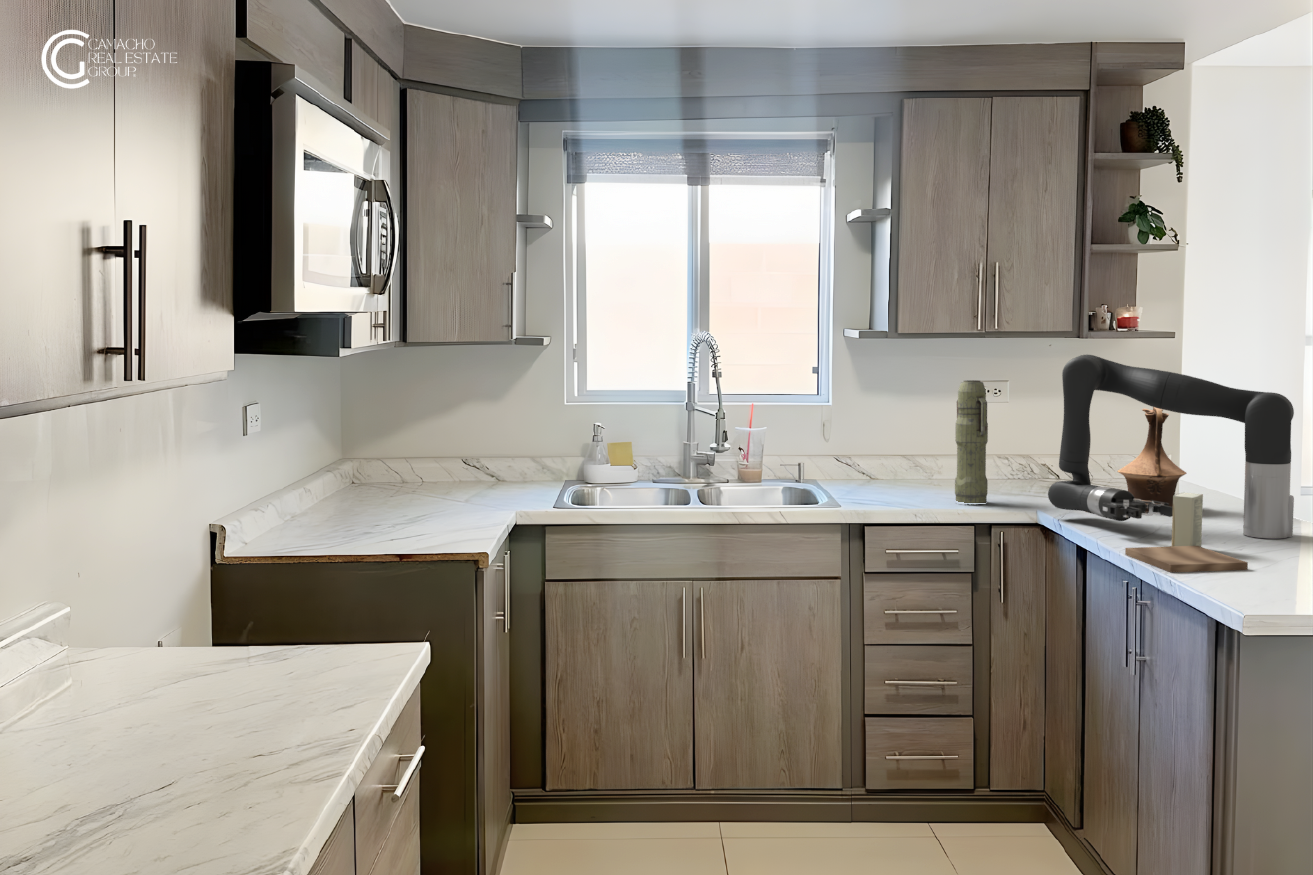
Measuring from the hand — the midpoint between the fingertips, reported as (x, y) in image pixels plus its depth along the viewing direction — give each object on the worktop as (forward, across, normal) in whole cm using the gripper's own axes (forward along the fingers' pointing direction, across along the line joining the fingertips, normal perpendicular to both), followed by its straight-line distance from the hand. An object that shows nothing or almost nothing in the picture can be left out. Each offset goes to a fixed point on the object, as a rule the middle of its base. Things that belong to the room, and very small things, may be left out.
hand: (1156, 513), depth 247 cm
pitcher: (-38, +29, +7) cm, 48 cm away
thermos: (-66, -9, +7) cm, 67 cm away
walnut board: (+21, -10, +6) cm, 24 cm away
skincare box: (+10, 0, +7) cm, 12 cm away
